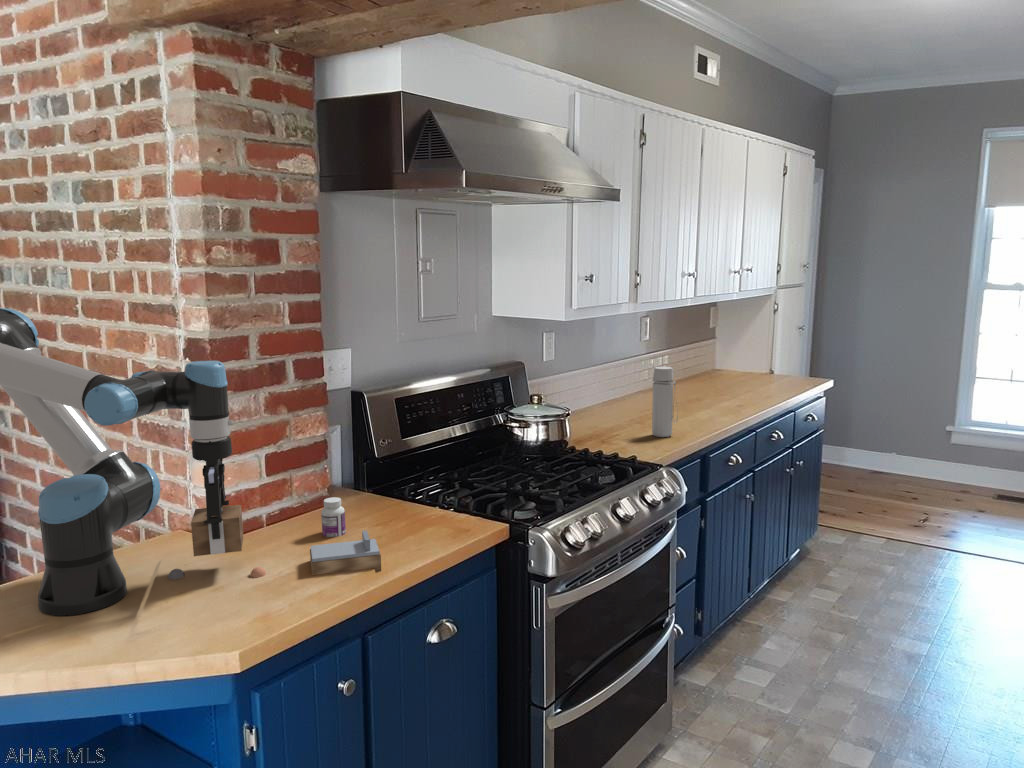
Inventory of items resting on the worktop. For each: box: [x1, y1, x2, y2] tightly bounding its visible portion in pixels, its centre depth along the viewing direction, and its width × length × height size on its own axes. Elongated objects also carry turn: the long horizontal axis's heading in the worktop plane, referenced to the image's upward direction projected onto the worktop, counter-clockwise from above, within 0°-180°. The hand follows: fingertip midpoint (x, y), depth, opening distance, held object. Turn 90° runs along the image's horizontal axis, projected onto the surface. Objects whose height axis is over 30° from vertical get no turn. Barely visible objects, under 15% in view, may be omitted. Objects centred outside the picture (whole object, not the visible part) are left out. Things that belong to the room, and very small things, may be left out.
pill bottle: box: [320, 496, 347, 538], centre depth 185 cm, size 5×5×10 cm
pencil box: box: [309, 548, 382, 576], centre depth 166 cm, size 14×8×4 cm, turn 106°
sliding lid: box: [310, 530, 381, 562], centre depth 166 cm, size 14×8×3 cm, turn 106°
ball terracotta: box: [250, 566, 267, 578], centre depth 161 cm, size 3×3×3 cm
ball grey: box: [168, 568, 185, 580], centre depth 161 cm, size 3×3×3 cm
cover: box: [190, 504, 244, 557], centre depth 162 cm, size 9×9×8 cm
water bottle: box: [651, 366, 679, 438], centre depth 287 cm, size 9×8×25 cm
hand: (219, 544), depth 163 cm, fingers closed on cover, 9 cm apart
